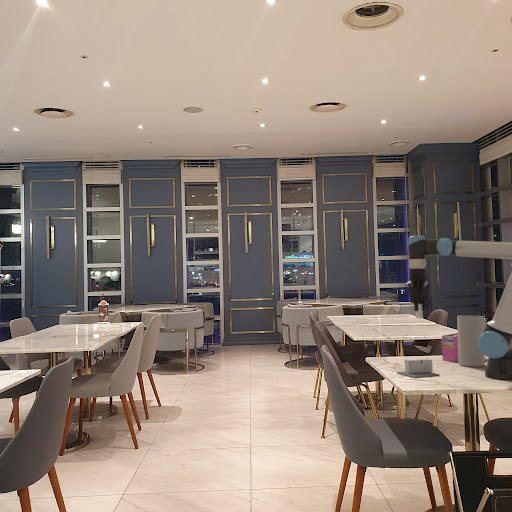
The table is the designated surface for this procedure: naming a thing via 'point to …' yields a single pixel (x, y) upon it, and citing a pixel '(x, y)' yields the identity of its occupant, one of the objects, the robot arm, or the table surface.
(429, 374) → the mat
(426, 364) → the skincare box
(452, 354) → the gum box
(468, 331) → the cylinder vase
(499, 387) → the table surface
